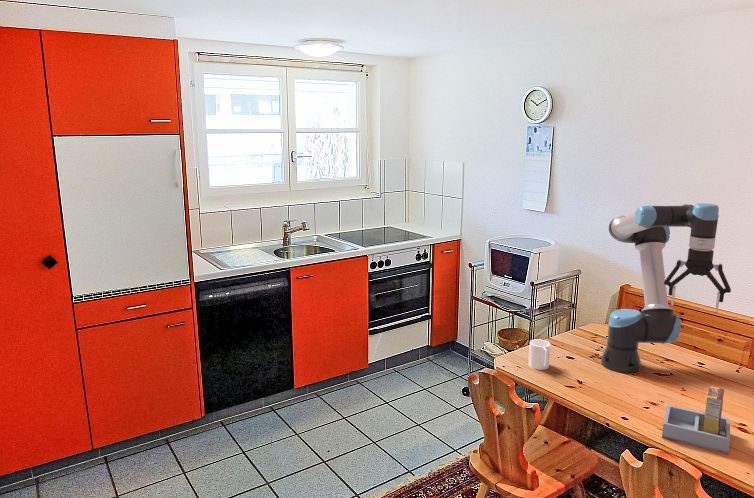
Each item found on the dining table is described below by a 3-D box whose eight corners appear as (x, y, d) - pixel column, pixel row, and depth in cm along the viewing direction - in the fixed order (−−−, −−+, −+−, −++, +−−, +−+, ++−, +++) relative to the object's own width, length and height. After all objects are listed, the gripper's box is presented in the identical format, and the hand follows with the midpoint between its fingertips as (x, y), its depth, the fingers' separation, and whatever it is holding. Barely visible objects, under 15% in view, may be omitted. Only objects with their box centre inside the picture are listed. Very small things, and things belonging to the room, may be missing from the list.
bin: (661, 437, 176) (663, 423, 175) (665, 418, 188) (667, 404, 187) (727, 454, 167) (730, 439, 166) (727, 432, 179) (729, 418, 178)
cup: (535, 374, 222) (537, 351, 220) (525, 361, 234) (527, 339, 232) (555, 373, 223) (557, 350, 220) (544, 361, 234) (546, 338, 232)
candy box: (704, 428, 180) (710, 385, 177) (719, 432, 178) (725, 389, 174) (700, 440, 173) (706, 396, 170) (716, 445, 171) (722, 400, 167)
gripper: (659, 247, 193) (653, 304, 198) (744, 255, 180) (736, 316, 185) (661, 243, 199) (655, 299, 204) (744, 250, 186) (735, 310, 191)
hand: (694, 307), depth 194 cm, fingers open, 13 cm apart
